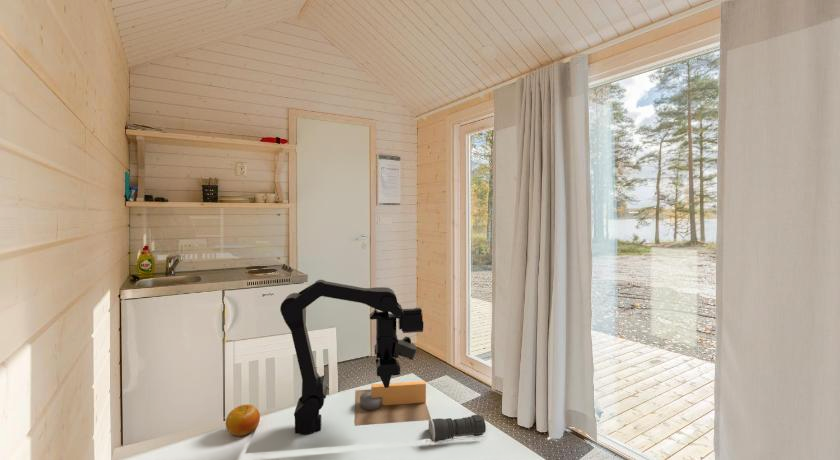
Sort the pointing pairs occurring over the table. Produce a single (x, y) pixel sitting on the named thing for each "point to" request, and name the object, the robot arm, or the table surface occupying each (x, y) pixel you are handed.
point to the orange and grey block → (393, 395)
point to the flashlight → (456, 427)
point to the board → (389, 412)
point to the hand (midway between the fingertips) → (386, 387)
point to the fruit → (242, 420)
